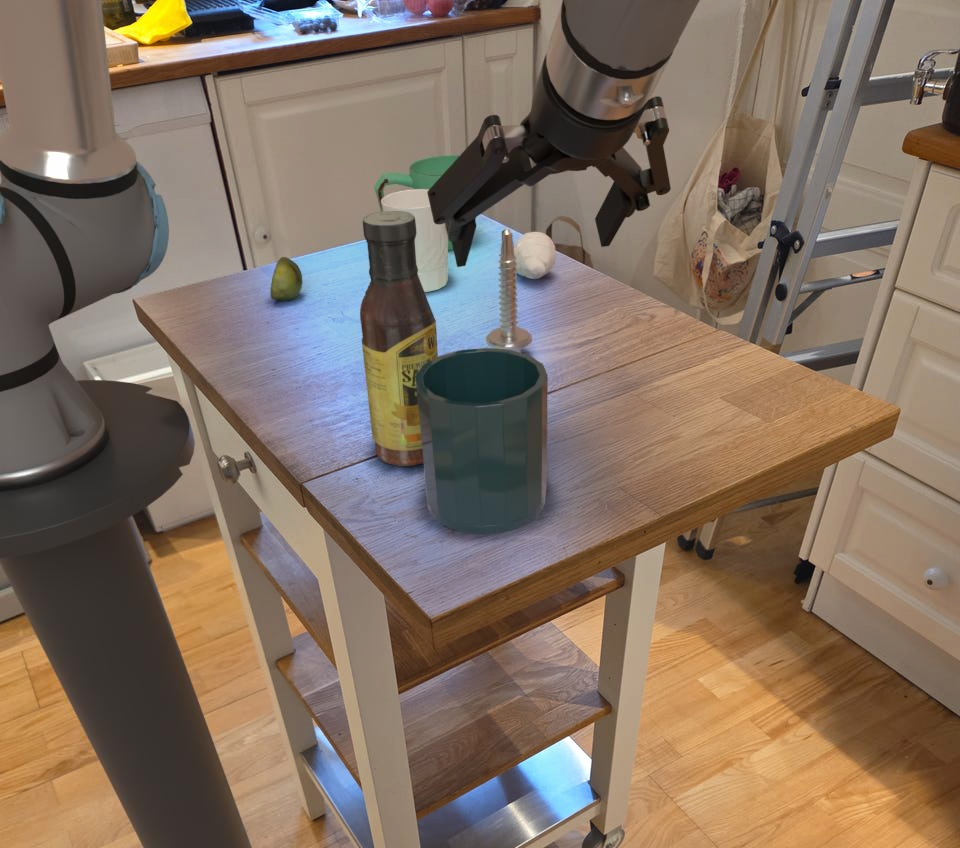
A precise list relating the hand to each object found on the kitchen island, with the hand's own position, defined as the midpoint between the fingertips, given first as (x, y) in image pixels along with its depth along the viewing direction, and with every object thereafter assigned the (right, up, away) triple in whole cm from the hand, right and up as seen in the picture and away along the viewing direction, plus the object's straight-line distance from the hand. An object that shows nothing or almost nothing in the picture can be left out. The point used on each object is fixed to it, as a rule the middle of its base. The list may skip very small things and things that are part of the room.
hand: (530, 242), depth 79 cm
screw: (-1, -6, +15) cm, 16 cm away
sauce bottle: (-11, -19, +1) cm, 22 cm away
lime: (-28, +6, +30) cm, 42 cm away
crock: (-4, -24, -6) cm, 25 cm away
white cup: (-12, +9, +32) cm, 35 cm away
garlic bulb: (+2, +9, +31) cm, 32 cm away
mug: (-11, +19, +43) cm, 48 cm away
